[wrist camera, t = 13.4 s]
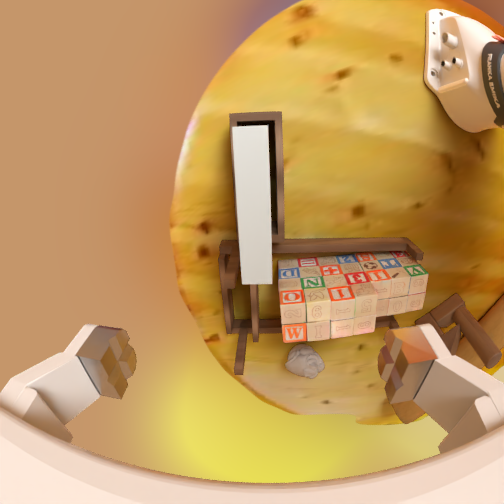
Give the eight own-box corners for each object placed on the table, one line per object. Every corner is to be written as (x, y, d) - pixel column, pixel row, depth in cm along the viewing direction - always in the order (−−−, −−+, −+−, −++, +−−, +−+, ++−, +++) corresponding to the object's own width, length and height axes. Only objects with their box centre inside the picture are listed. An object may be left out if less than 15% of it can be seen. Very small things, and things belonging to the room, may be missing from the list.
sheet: (249, 130, 36) (232, 126, 18) (267, 129, 36) (268, 125, 17) (253, 213, 41) (242, 284, 22) (270, 213, 41) (272, 284, 22)
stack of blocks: (404, 247, 42) (439, 284, 30) (400, 280, 44) (430, 322, 33) (276, 259, 44) (279, 305, 32) (280, 294, 46) (282, 344, 35)
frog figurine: (320, 357, 52) (324, 383, 45) (284, 360, 52) (285, 386, 46) (321, 334, 49) (326, 361, 43) (283, 337, 50) (284, 364, 43)
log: (503, 282, 43) (527, 305, 34) (510, 302, 45) (532, 324, 36) (385, 390, 56) (396, 422, 47) (402, 400, 58) (413, 429, 49)
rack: (221, 240, 43) (205, 279, 32) (407, 237, 41) (443, 271, 30) (230, 324, 49) (221, 374, 38) (390, 317, 47) (413, 361, 36)
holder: (235, 116, 35) (229, 113, 30) (279, 114, 35) (281, 111, 29) (241, 227, 42) (237, 243, 36) (282, 227, 41) (284, 242, 36)
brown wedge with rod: (414, 321, 47) (452, 387, 31) (456, 291, 44) (503, 348, 28) (418, 331, 48) (453, 396, 32) (458, 303, 45) (502, 359, 29)
